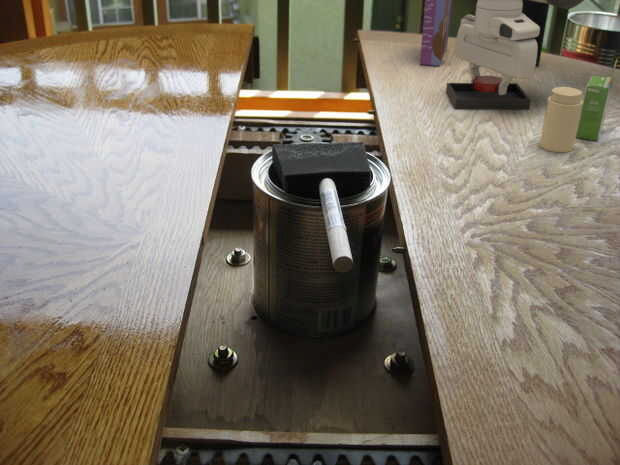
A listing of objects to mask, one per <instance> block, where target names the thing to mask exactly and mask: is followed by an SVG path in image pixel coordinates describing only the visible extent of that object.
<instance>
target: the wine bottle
mask: <svg viewBox="0 0 620 465" xmlns="http://www.w3.org/2000/svg"><path fill="white" fill-rule="evenodd" d="M522 2H523V7H522V13H524V14H525V15H526V16H527V17H528V18H529V19H530V20H532V21H533V22H534V23H536V24H537V25H538V26H539V27H540V33H539V35H538V36H537V37H534V39H535V40H536V42H537V46H538V50H537V59H536V66H535V67H539V65H540V62H541V57H542V50H543V44H544V38H545V34H546V33H545V32H546V27H547V21H548V15H549V8H550V4H547V3H541V2H535V1H530V0H522Z"/></svg>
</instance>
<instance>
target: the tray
mask: <svg viewBox="0 0 620 465" xmlns="http://www.w3.org/2000/svg"><path fill="white" fill-rule="evenodd" d="M445 88H446V90H445V93H446V95H447V96H448V99H449V101H450V103H451V104H452V107H453V109H454V110H530V107H531V103H532V102H531V101H532V99H531V98H530V97H529V95H528V94H527V93H526V92H525V91H524V89H522V87H521V86H520V85H519V83H517V82H510V84H509V85H508V86H507V92H506V94H505V95H499V94H496V93H495V92H491V93H489V92H481V91H478V90H475V89H474V87H473V84H471V82H446V87H445Z"/></svg>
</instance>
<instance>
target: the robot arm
mask: <svg viewBox="0 0 620 465" xmlns="http://www.w3.org/2000/svg"><path fill="white" fill-rule="evenodd" d="M530 1H535V2H541V3H547V4H549V6H554V7H557V8H561V9H564V10H570V9H573V8H576V7H577V6H578V5H580V4H582V3H583V2H584V1H585V0H530ZM522 7H523V2H522V0H477V2H476V7H475V15H473V14H471V13H467V14H466V15H464V16H463V17H462V18H461V19H460V26H459V27H458V30H457V34H456V37H455V38H456V39H455V44H454V51H453V53H454V56H455V58H456V59H458V60H462V61H464V62H467V63H468V69H469V72H470V76H471V79H470V83H471V84H474V79H475V78H476V77H478V76H481V73H480V72H481V71H480V68H481V67H482V68H485V69H487V70H490V71H492V72H496V73H498V74H500V78H501V79H503V80H502V82H501V83H500V85H496V90H495V93H496V94H499V95H505V94H506V92H507V86H508V85H509V84H510V83H512V81H513V80H514V79H515V80H524V79H530V78H531V77H532V76H533V75H534V73H535V71H536V67H537V66H536V59H537V50H538V46H537V42H536V40H535V39H534V37H537V36H538V35H539V33H540V27H539V26H538V25H537V24H536V23H534V22H533V21H532V20H530V19H529V18H528V17H527V16H526V15H525V14H524V13H522Z"/></svg>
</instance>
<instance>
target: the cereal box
mask: <svg viewBox="0 0 620 465" xmlns="http://www.w3.org/2000/svg"><path fill="white" fill-rule="evenodd" d="M452 3H453V0H424V8H423V9H424V12H423V23H422V35H421V47H420V58H419V66H423V67H425V66H426V67H440V66H441V64H442V61H443V59H444V56H445V54H446V52H447V50H448V43H449V42H448V41H449V34H450V33H449V31H450V22H451V11H452Z"/></svg>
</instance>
